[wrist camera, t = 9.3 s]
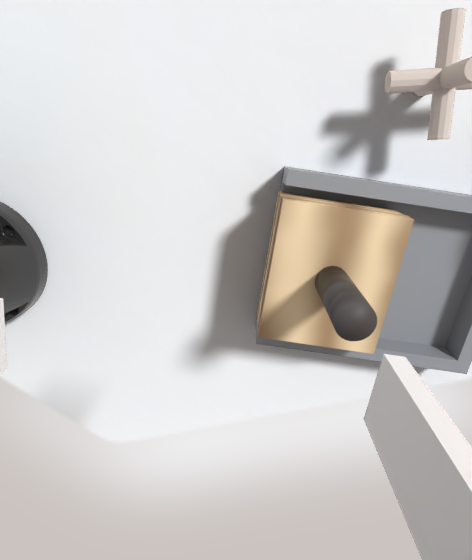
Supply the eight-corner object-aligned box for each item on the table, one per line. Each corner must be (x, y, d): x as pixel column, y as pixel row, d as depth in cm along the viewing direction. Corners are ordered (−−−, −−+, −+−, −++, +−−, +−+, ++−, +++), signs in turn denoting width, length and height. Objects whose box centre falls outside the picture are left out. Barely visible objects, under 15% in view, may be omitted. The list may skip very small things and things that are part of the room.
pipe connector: (465, 137, 40) (531, 135, 31) (367, 142, 41) (403, 142, 31) (481, 24, 37) (560, -16, 28) (374, 31, 37) (416, -7, 28)
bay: (255, 325, 48) (256, 343, 44) (284, 166, 42) (288, 169, 38) (447, 353, 49) (466, 374, 44) (504, 200, 42) (532, 206, 38)
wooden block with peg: (256, 313, 46) (259, 390, 31) (278, 191, 41) (293, 216, 27) (358, 328, 46) (407, 411, 32) (392, 208, 41) (467, 243, 27)
